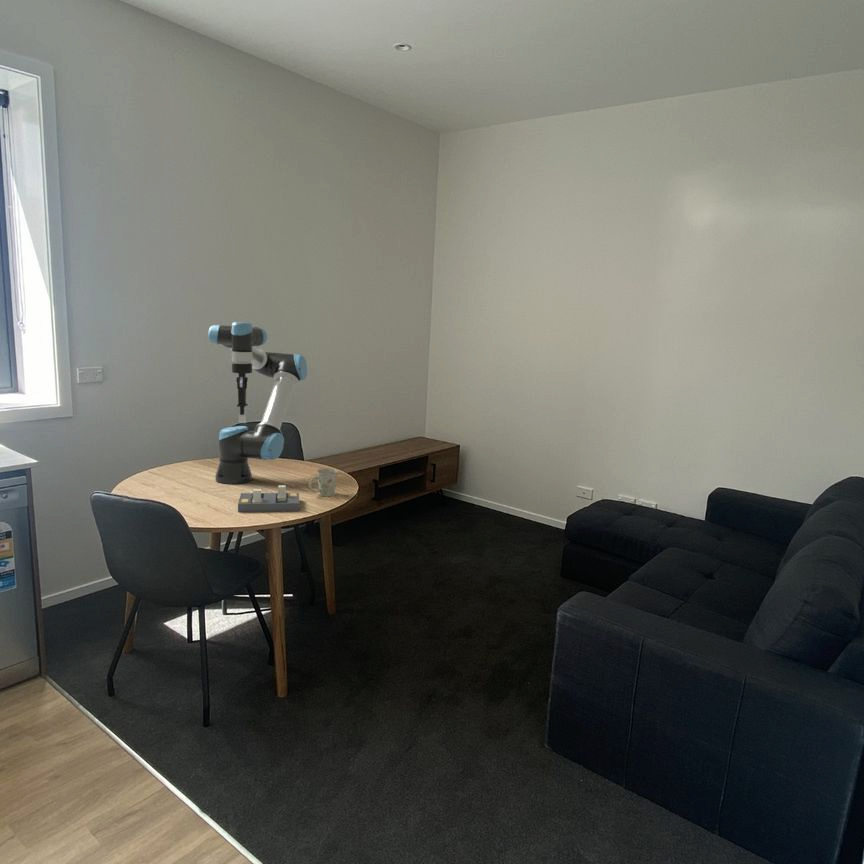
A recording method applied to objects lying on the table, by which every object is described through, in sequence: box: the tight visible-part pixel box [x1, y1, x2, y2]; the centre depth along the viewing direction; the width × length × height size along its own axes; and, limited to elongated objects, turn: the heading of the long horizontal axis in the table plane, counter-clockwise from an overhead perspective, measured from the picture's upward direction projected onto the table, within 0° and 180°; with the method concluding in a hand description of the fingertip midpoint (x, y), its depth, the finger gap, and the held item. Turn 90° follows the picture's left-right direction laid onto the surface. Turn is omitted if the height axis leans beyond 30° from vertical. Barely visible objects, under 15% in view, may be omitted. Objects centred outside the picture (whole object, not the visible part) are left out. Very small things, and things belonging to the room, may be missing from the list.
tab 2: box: [277, 484, 287, 502], centre depth 237 cm, size 4×3×6 cm
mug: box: [308, 468, 338, 498], centre depth 250 cm, size 8×13×10 cm, turn 133°
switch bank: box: [237, 492, 300, 513], centre depth 234 cm, size 14×22×3 cm, turn 102°
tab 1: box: [252, 488, 262, 503], centre depth 230 cm, size 4×3×6 cm
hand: (242, 422), depth 242 cm, fingers closed
